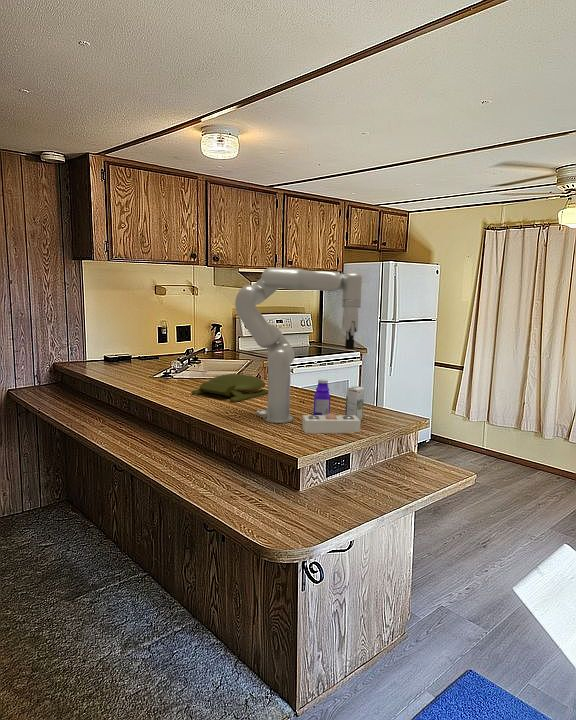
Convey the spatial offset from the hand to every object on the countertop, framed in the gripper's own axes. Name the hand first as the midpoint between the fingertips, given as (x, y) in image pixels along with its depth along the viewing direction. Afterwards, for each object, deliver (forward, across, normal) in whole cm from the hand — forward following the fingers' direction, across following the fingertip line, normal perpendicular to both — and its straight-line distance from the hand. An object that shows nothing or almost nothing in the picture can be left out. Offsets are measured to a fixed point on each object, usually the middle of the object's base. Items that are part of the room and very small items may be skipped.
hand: (349, 348), depth 220 cm
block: (+32, +8, -8) cm, 34 cm away
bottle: (+32, -10, -9) cm, 35 cm away
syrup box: (+32, -8, +5) cm, 34 cm away
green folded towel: (+33, -63, -48) cm, 86 cm away
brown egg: (+31, +8, -8) cm, 33 cm away
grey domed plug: (+32, +8, -1) cm, 33 cm away
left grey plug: (+32, +8, -15) cm, 36 cm away
